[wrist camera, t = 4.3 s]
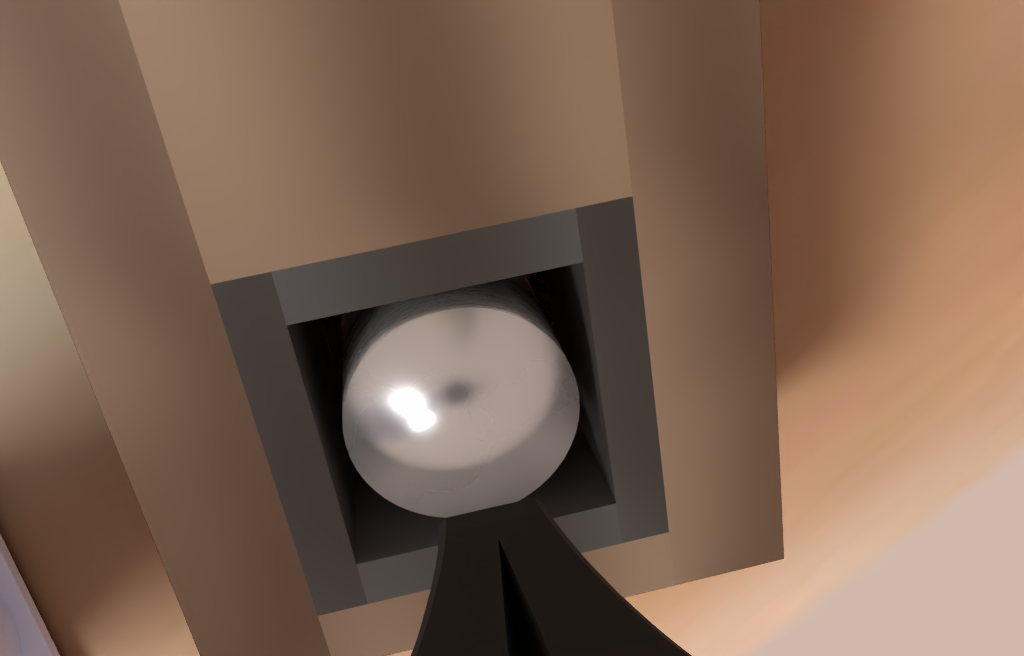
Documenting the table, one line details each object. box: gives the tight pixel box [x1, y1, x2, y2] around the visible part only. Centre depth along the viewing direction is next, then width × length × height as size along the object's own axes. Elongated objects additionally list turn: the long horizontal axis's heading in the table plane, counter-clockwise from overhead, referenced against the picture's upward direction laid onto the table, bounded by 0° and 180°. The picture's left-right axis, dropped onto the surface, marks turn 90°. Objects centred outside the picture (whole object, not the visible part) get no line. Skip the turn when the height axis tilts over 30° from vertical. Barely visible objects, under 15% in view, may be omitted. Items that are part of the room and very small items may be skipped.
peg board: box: [0, 0, 784, 656], centre depth 17 cm, size 12×22×5 cm, turn 9°
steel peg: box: [341, 275, 580, 518], centre depth 20 cm, size 4×4×5 cm
